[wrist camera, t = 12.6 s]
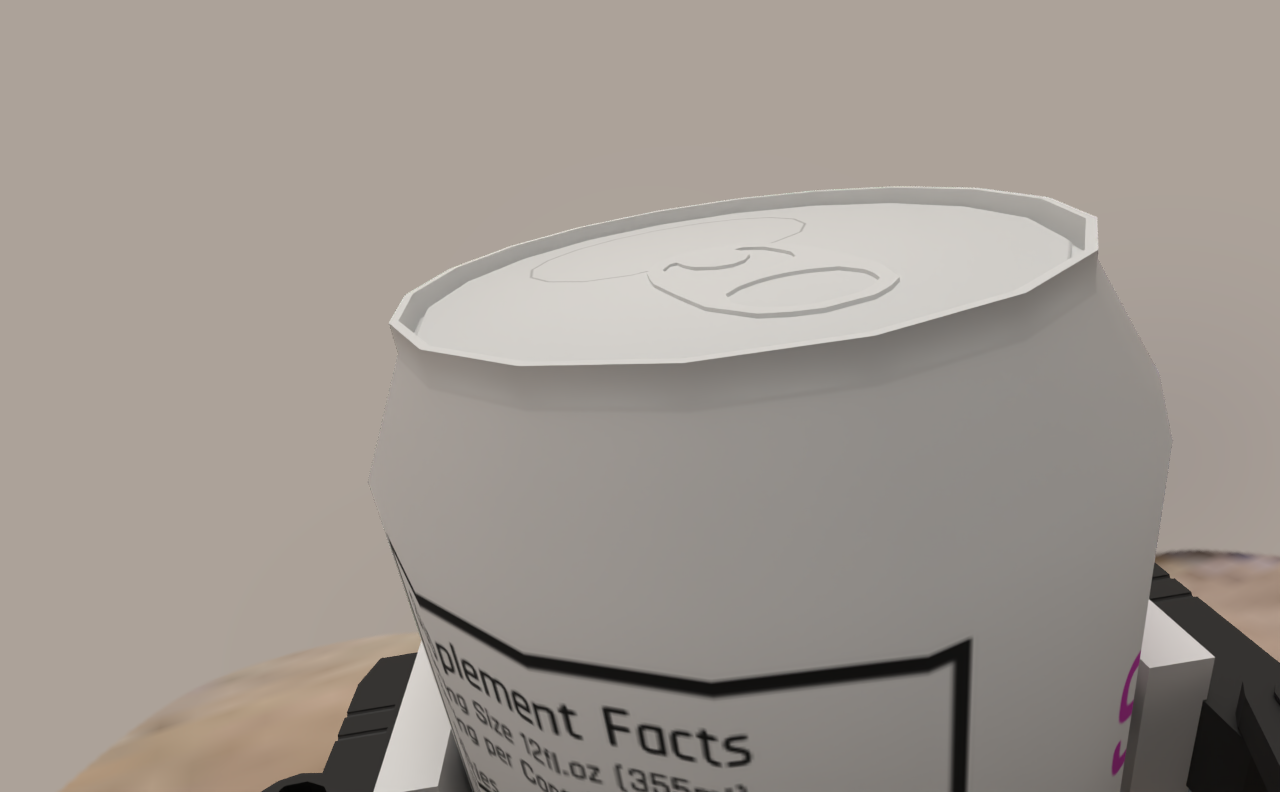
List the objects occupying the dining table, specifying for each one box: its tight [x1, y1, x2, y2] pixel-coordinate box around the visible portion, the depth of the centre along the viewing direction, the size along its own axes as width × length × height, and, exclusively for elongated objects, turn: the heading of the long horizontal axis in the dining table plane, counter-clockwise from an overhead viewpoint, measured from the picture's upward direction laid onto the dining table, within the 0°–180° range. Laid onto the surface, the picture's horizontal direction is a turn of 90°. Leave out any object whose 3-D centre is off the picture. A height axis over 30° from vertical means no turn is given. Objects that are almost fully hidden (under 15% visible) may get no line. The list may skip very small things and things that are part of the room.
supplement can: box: [368, 186, 1172, 792], centre depth 11 cm, size 8×8×15 cm
